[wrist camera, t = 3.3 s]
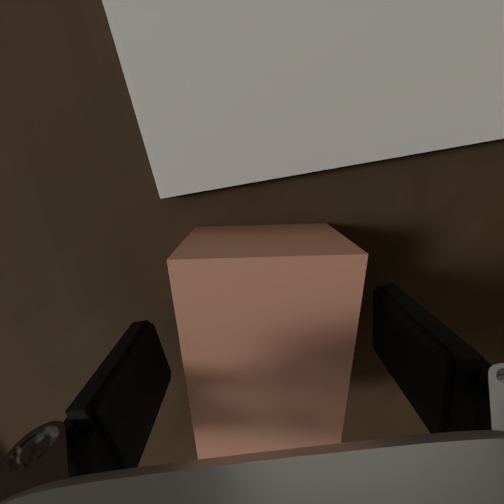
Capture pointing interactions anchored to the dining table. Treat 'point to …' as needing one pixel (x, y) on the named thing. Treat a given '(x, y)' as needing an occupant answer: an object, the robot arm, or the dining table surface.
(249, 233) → the card box
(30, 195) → the dining table surface
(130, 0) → the mat
